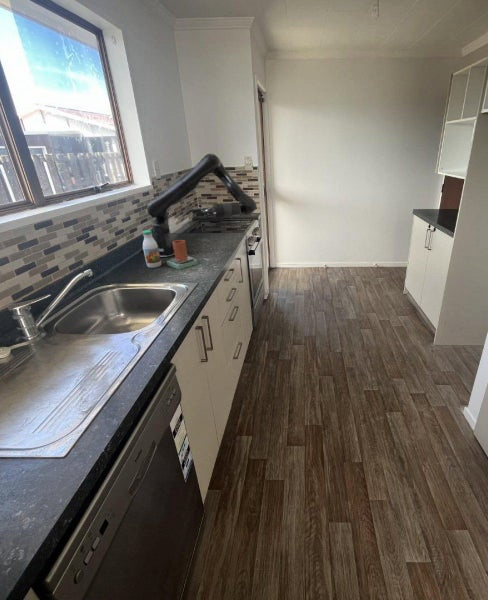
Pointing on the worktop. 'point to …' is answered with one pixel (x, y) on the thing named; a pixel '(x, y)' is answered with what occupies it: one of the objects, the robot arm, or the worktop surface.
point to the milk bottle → (151, 250)
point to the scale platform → (181, 261)
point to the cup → (180, 250)
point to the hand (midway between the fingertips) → (194, 213)
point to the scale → (182, 264)
